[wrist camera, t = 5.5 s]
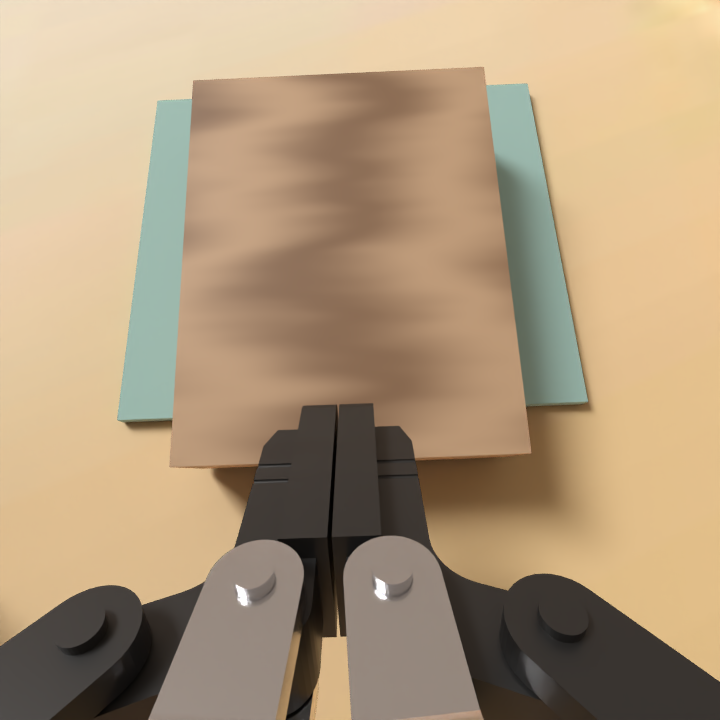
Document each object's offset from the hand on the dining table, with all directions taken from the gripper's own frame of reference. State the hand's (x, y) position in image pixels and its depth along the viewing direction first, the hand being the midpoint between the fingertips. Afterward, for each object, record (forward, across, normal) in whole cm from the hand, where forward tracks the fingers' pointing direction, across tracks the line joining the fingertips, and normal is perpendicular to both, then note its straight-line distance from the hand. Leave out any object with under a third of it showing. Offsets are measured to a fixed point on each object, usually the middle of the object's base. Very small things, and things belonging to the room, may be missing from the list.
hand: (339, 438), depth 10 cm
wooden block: (+3, 0, +3) cm, 4 cm away
